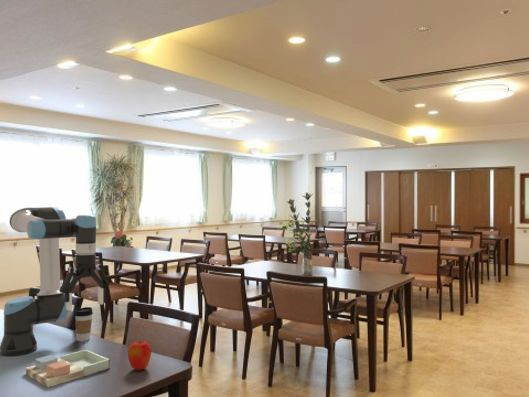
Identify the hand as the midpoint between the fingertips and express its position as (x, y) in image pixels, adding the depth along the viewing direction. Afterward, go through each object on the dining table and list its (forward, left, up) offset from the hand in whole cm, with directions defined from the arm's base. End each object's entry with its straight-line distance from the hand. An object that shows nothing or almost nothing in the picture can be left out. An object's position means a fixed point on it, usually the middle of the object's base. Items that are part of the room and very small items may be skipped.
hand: (85, 307), depth 183 cm
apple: (+15, +15, -26) cm, 34 cm away
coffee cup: (-39, +21, -26) cm, 51 cm away
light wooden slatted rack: (-5, -10, -26) cm, 28 cm away
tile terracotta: (0, -11, -23) cm, 25 cm away
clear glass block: (-10, -11, -23) cm, 27 cm away
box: (-5, +3, -26) cm, 26 cm away
